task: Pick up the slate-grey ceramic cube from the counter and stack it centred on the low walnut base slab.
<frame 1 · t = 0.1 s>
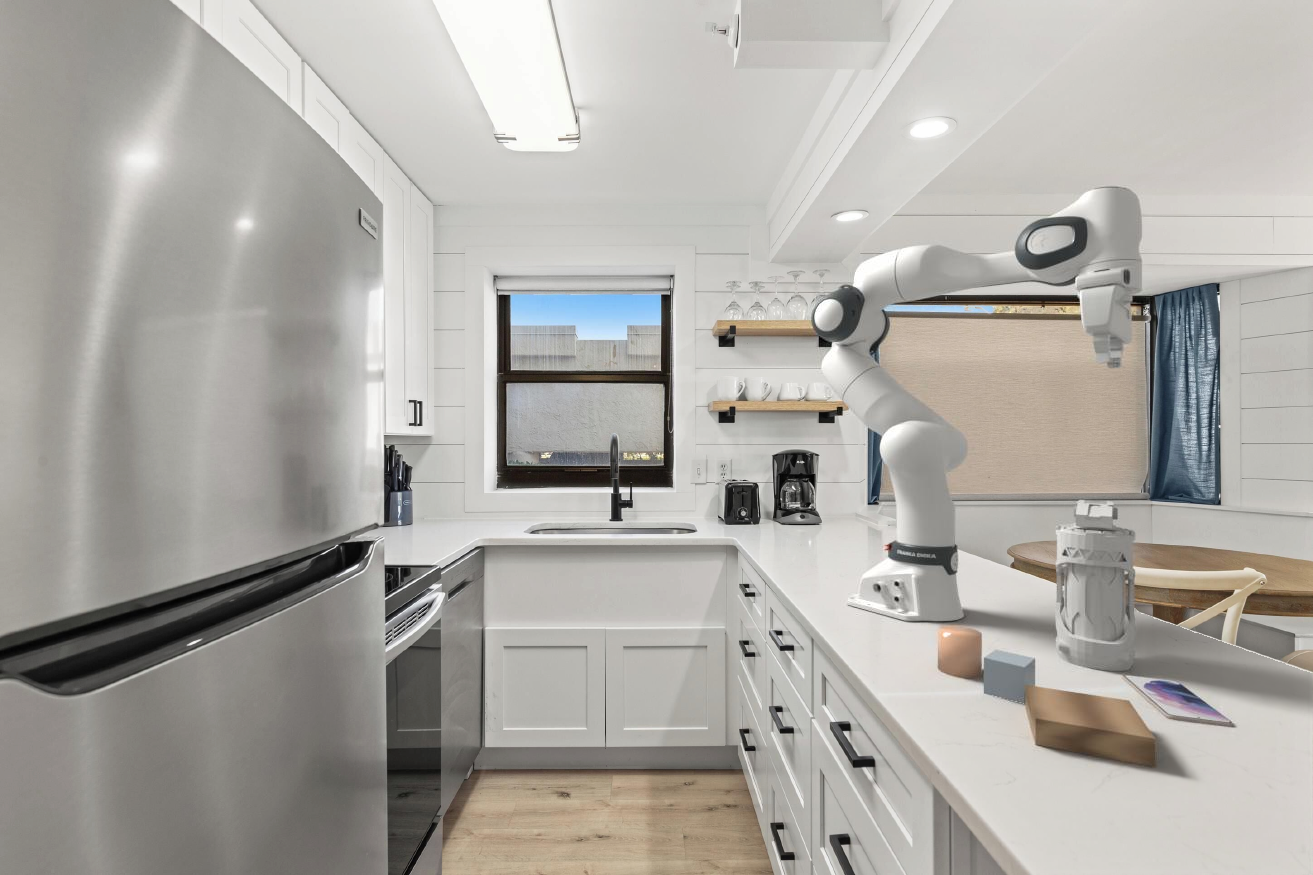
hand: (1108, 365, 105), 48 cm above the counter, fingers open, 8 cm apart
smartphone: (1172, 703, 84), on the counter
lantern: (1094, 659, 100), on the counter
peach rounded cylinder: (959, 670, 94), on the counter
cube: (1009, 694, 86), on the counter
base slab: (1083, 734, 74), on the counter
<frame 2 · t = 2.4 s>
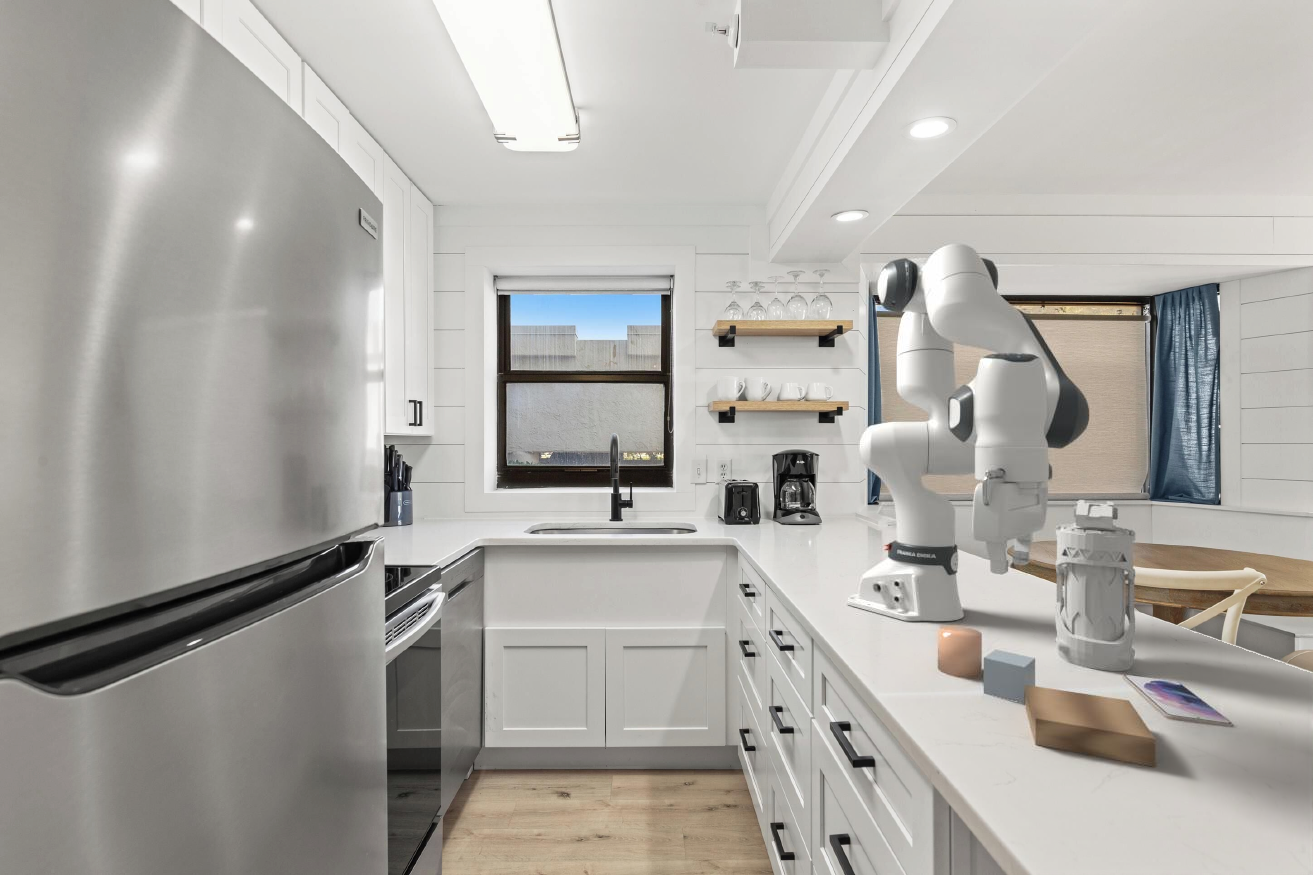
hand: (1010, 568, 86), 17 cm above the counter, fingers open, 8 cm apart
nothing on the counter moved.
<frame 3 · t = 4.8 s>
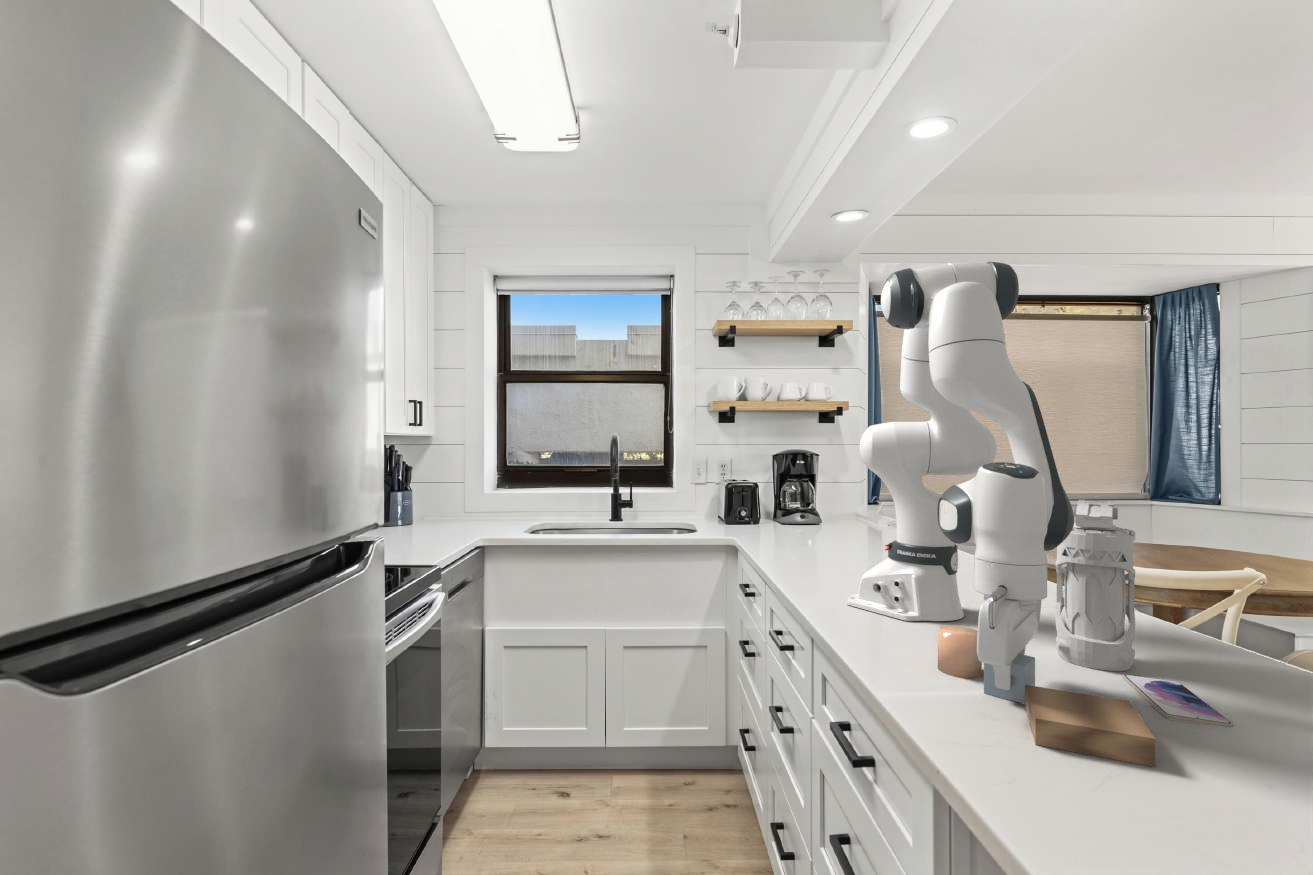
hand: (1009, 680, 86), 2 cm above the counter, fingers closed on cube, 5 cm apart
cube: (1009, 693, 86), on the counter, touching gripper
everything else where it was.
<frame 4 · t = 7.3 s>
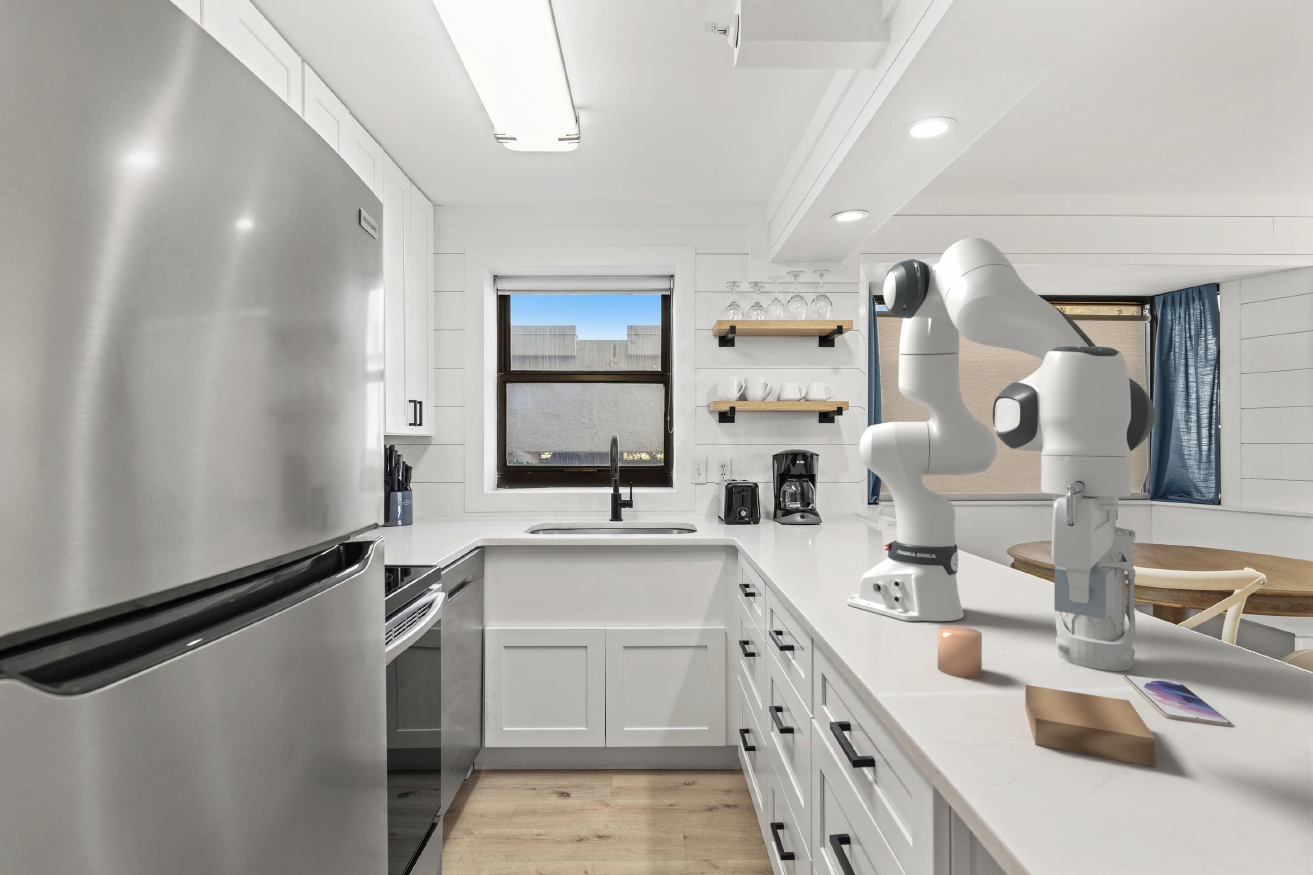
hand: (1084, 596, 74), 16 cm above the counter, fingers closed on cube, 5 cm apart
cube: (1084, 610, 74), point 15 cm above the counter, touching gripper
everything else where it was.
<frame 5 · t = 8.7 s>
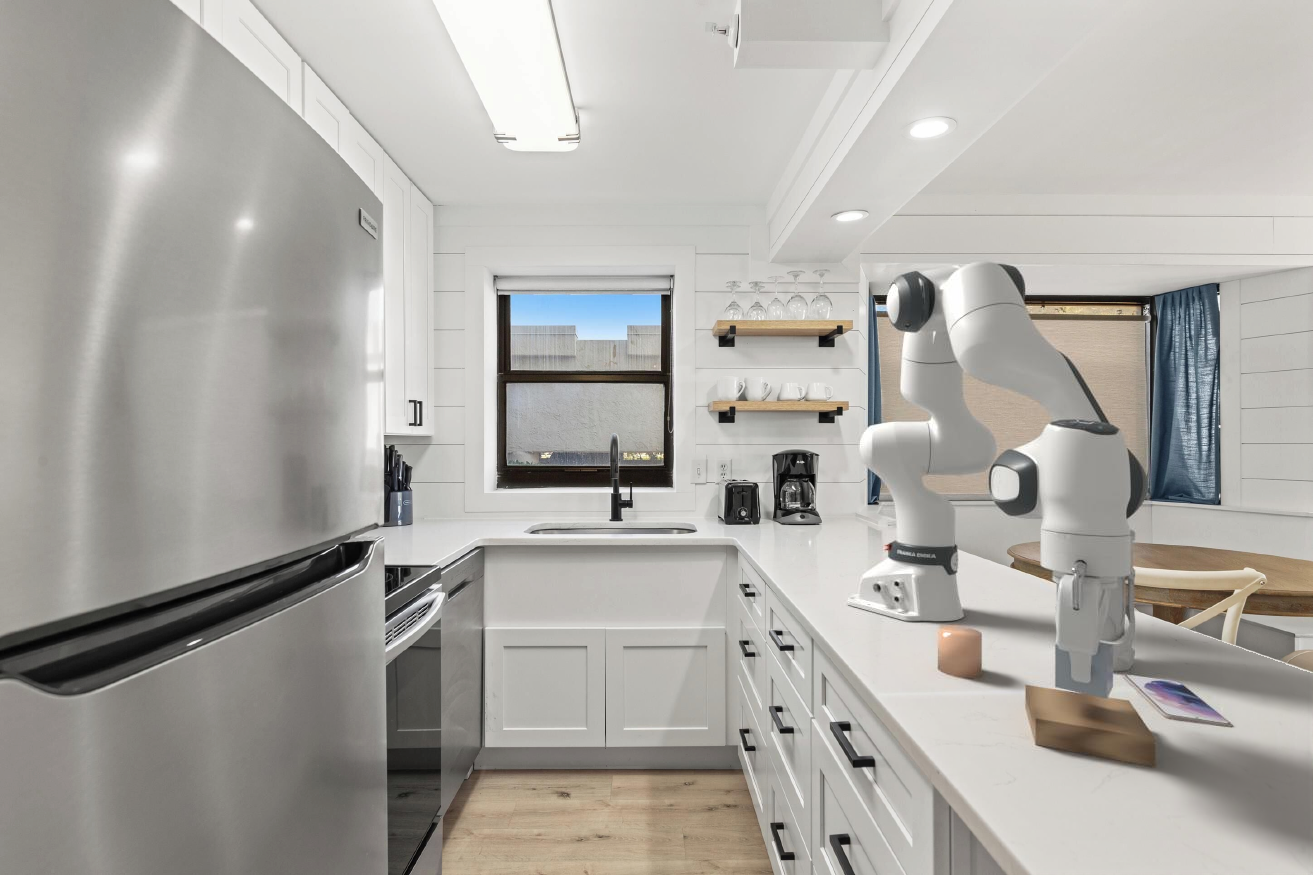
hand: (1083, 672, 74), 7 cm above the counter, fingers closed on cube, 5 cm apart
cube: (1084, 686, 74), point 6 cm above the counter, touching gripper
everything else where it was.
when the fingers open (6 cm above the counter, at t = 9.9 s): cube drops 1 cm, resting on base slab.
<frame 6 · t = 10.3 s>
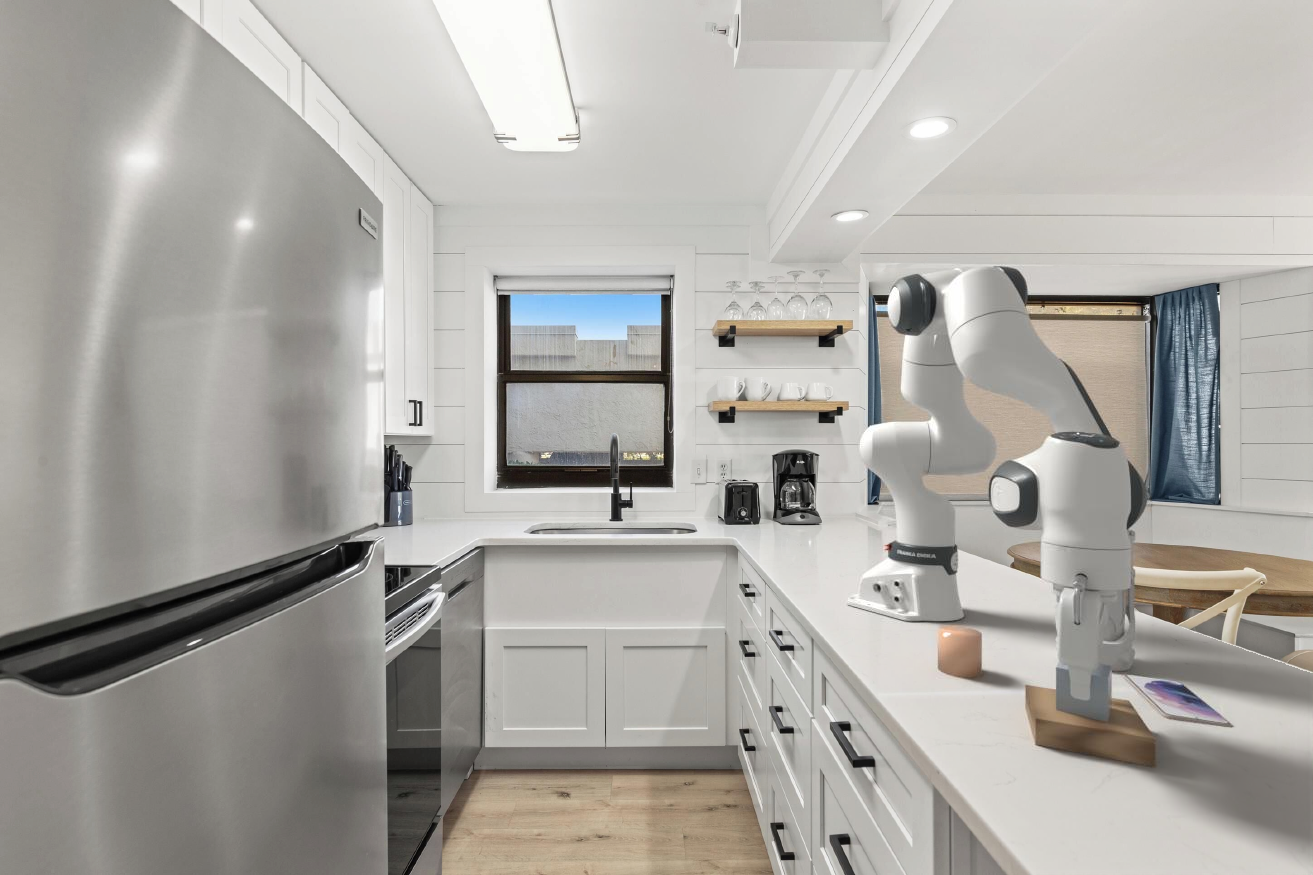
hand: (1083, 684, 74), 6 cm above the counter, fingers open, 8 cm apart
cube: (1083, 708, 74), point 3 cm above the counter, touching base slab
everything else where it was.
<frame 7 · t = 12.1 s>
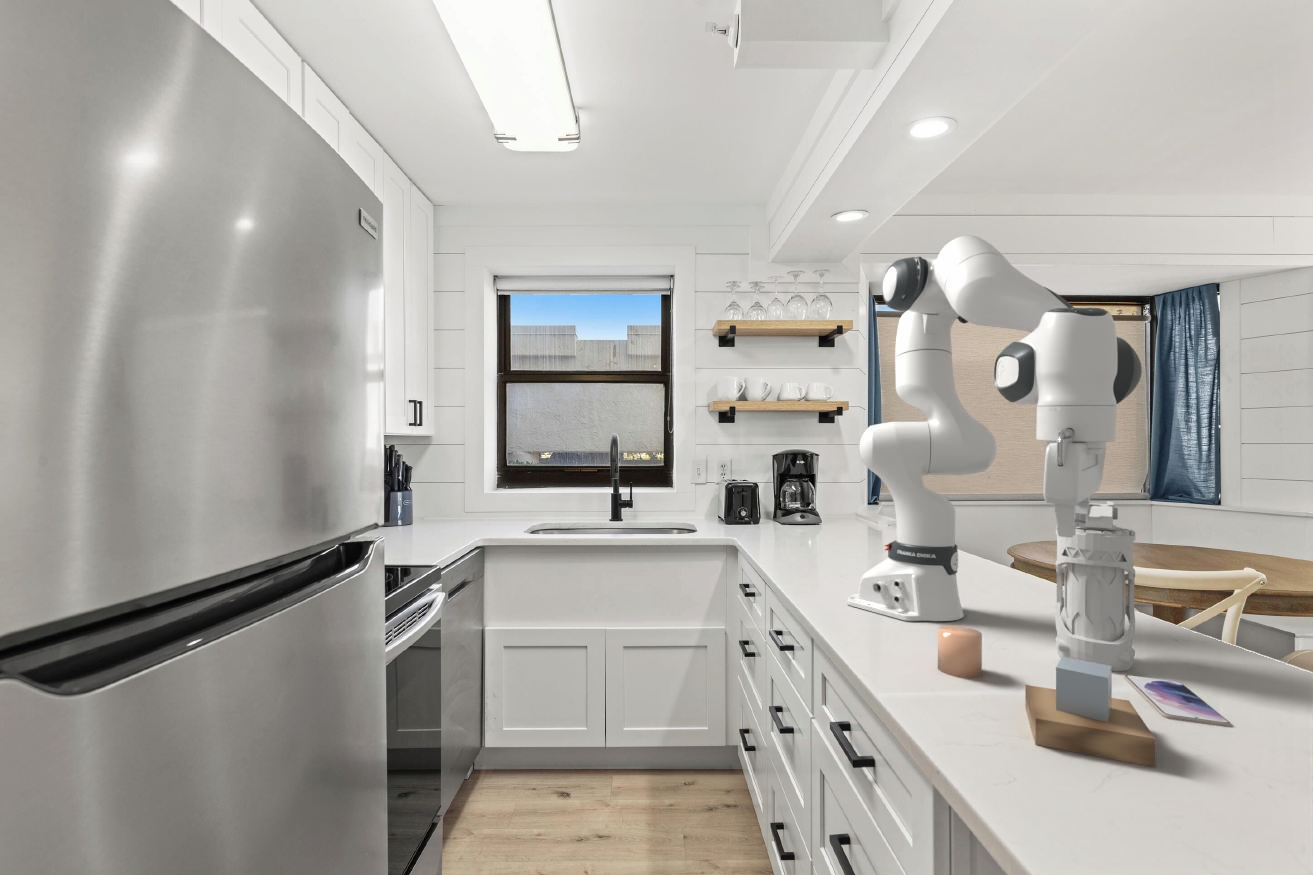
hand: (1072, 531, 83), 23 cm above the counter, fingers open, 8 cm apart
nothing on the counter moved.
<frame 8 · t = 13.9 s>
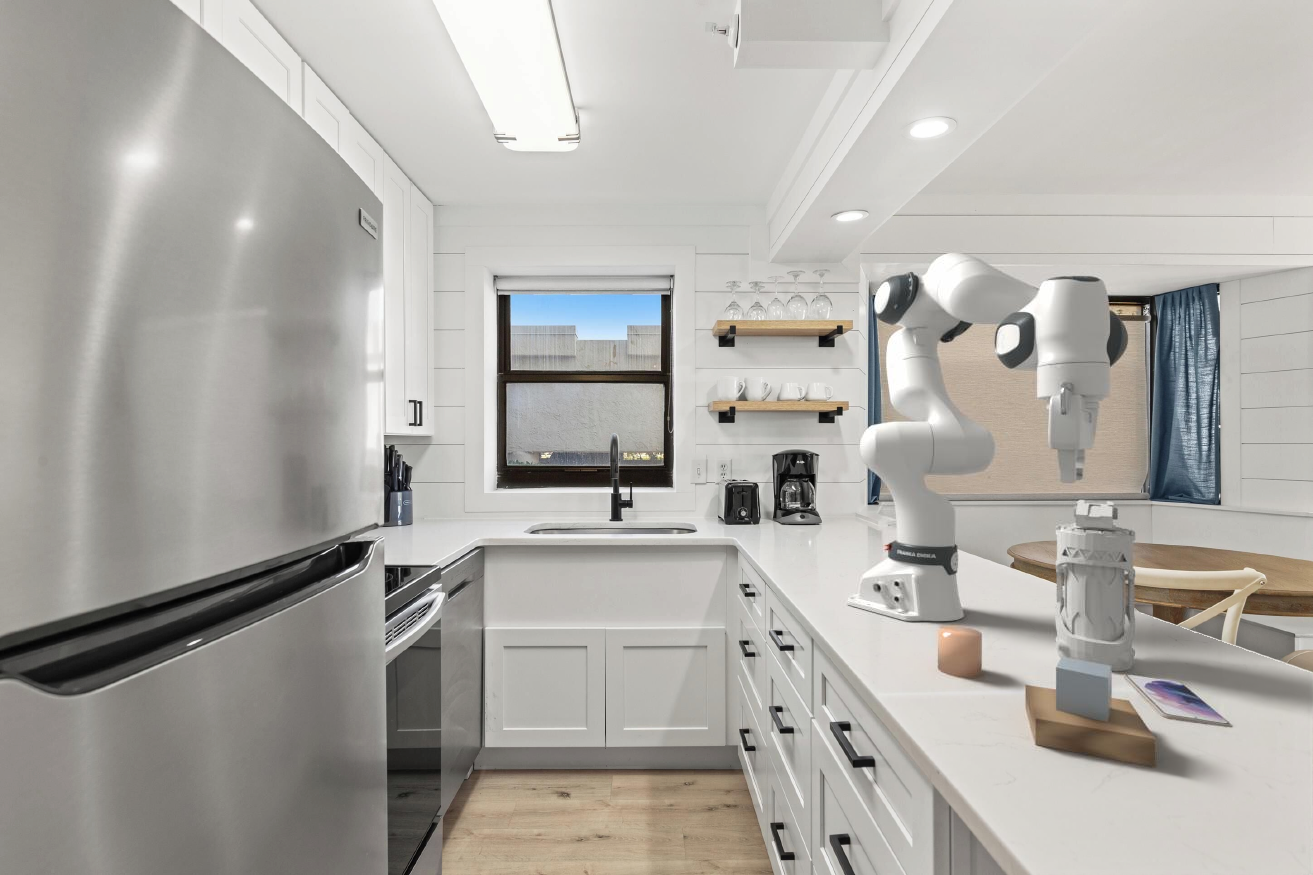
hand: (1072, 481, 90), 29 cm above the counter, fingers open, 8 cm apart
nothing on the counter moved.
at the end: cube inside the target area on the base slab (0.1 cm from its centre), point 3.0 cm above the base slab's base; cube tilted 0°; the gripper is holding nothing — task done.
